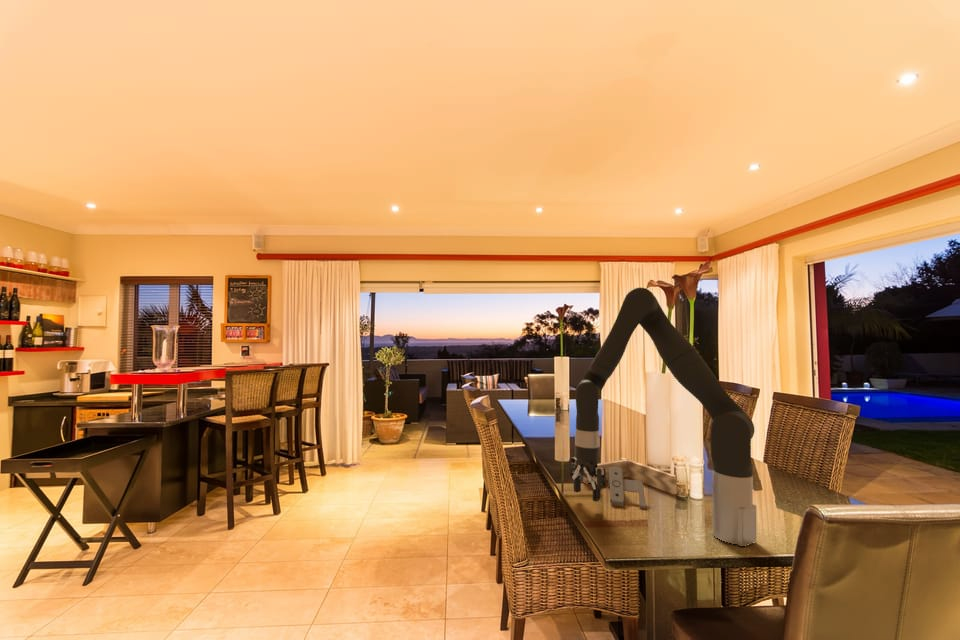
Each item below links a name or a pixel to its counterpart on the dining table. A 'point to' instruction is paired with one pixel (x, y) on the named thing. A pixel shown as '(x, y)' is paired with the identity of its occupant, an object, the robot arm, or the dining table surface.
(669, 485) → the wooden corner joint
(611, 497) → the bracket
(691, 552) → the dining table surface
